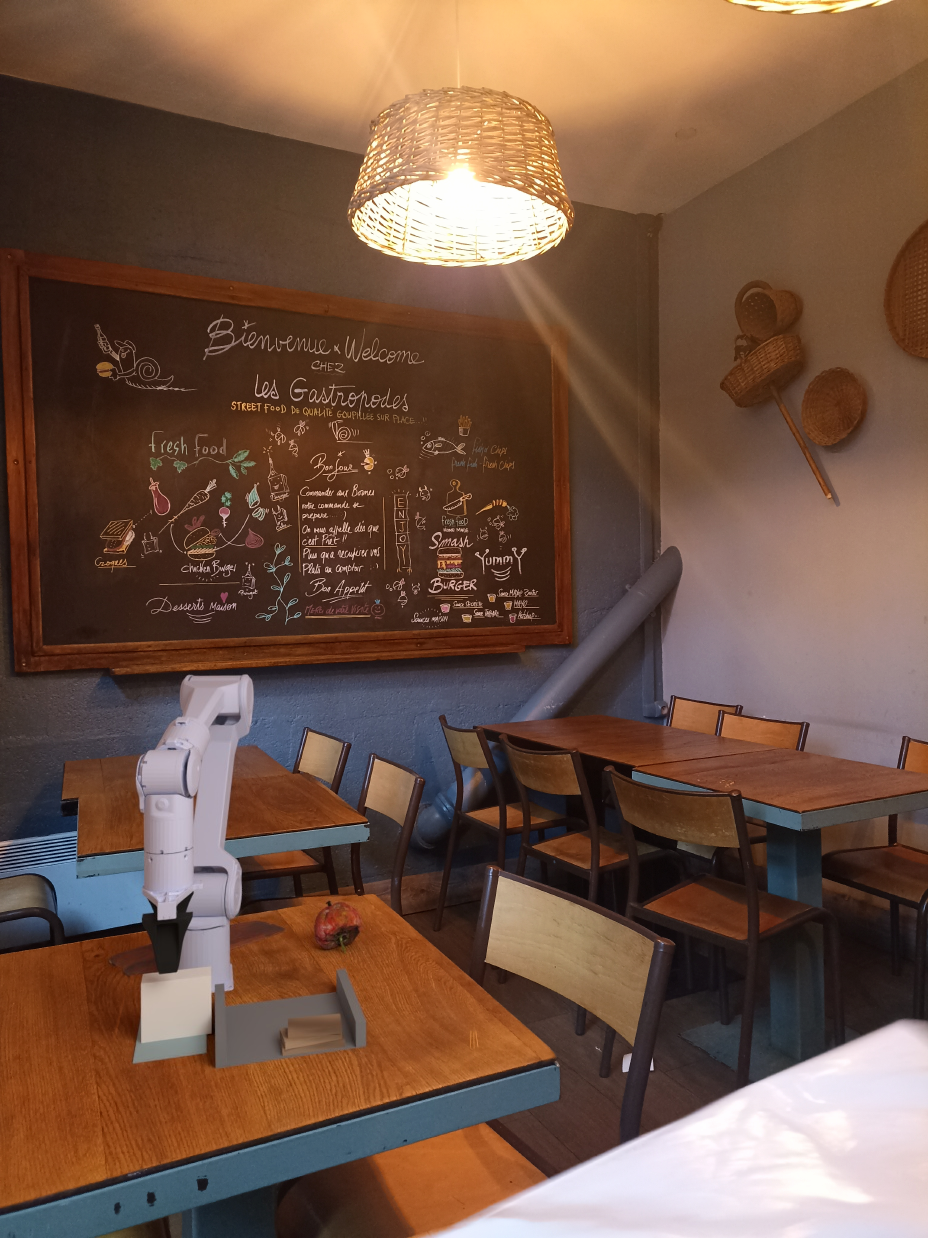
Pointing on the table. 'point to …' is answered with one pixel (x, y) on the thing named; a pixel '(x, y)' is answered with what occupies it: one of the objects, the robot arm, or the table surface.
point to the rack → (281, 1023)
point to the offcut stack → (312, 1034)
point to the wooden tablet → (240, 935)
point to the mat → (168, 1047)
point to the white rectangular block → (176, 1004)
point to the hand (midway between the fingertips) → (169, 960)
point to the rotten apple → (337, 925)
